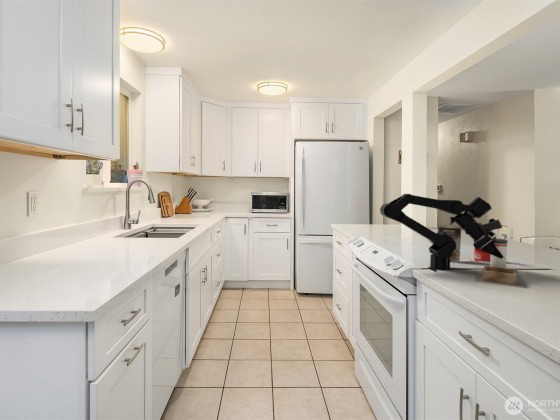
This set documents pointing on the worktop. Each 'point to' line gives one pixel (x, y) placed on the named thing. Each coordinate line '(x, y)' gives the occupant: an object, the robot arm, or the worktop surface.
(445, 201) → the robot arm
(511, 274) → the wooden tray
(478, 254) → the canned food
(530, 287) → the worktop surface
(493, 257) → the white lens
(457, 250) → the coffee box
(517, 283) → the rubber mat
